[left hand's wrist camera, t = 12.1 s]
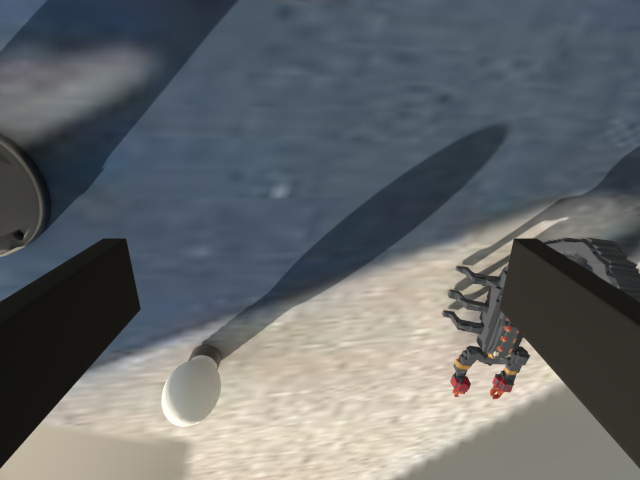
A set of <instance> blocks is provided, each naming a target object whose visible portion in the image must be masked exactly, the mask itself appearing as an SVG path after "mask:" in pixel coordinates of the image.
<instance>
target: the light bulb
mask: <svg viewBox="0 0 640 480" xmlns="http://www.w3.org/2000/svg"><path fill="white" fill-rule="evenodd" d="M220 361H221V356H220V353H219V352H218V351H217V350H216V349H214V348H213V347H210V346H205V345H203V346H198V347H196V348H195V349H194V350H193V352H192V354H191V356H190V358H189V360H188V361H187V362H185V363H184V364H182V365H180V366H179V367H178V368H177V369H176V370H175V371H174V372H173V373H172V374H171V375H170V377H169V378H168V380H167V382H166V384H165V386H164V389H163V393H162V408H163V411H164V414H165V416H166V417H167V418H168V420H169V421H170V422H172V423H173V424H175V425H178V426H191V425H194V424H197V423H198V422H200V421H202V420H203V419H204V418H206V417H207V416H208V415H209V414H210V413H211V411H212V410H213V408H214V407H215V405H216V403H217V401H218V398H219V395H220V390H221V381H220V376H219V373H218V371H217V369H218V366H219V364H220Z"/></svg>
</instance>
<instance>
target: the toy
mask: <svg viewBox="0 0 640 480" xmlns="http://www.w3.org/2000/svg"><path fill="white" fill-rule="evenodd" d="M545 244H546V245H548V246H549V247H551V248H553V249H554V250H556V251H558V252H559V253H561V254H562V255H564V256H566V257H567V258H569V259H571V260H572V259H574V258H579V259H580V258H585V259H586V260H588V262H587V264H589V265H590V266H592V268H593V272H595V273H596V274H597V276H598V277H600V278H602V279H603V280H605V281H606V282H608V283H610V284H611V285H613V286H615V287H616V288H618V289H620V290H621V291H623V292H624V293H626V294H628V295H629V296H631V297H633V298H634V299H636V300H637V301H639V302H640V274H639V272H638V269H636V266H637V264H635V263H633V262H631V261H629V260H627V259H626V258H627V255H625V254H624V253H623V252H622V251H621V249H619V248H617V247H616V244H617V243H615V242H613V241H607V240H600V239H593V238H587V239H581V240H579V239H572V238H565V239H561V240H560V239H557V240H552V241H549V240H548V242H545ZM508 265H509V264H508ZM508 265H507V267H505V268H504V269H503V271H502V272H501V274H500V276H499V277H497V276H486V275H481V274H476V273H473V272H472V271H471V270H470V269H469V268H468V267H461V266H457V267H456V270H457V271H459V272H461V273H464V274H465V275H466V276H467V277H468V278H469V279H470V280H471V282H472V283H473V284H481V285H483V286H490V290H489V292H488V295H487V300H486V302H485V303H483V302H478V301H472V300H468V299H465V298H464V297H463V295H462V294H461V293H460V292H459V291H456V290H449V293H448V296H449V298H452V299H456V300H458V301H459V302H460V303H461V304H462V306H463V307H464V308H466V309H468V310H475V311H482V312H481V315H480V319H481V323H474V322H470V321H465V320H461V319H459V318H458V317H457V316H456V314H455V313H454V312H452V311H444V310H443V313H442V315H443V316H444V317H448V318H451V320H452V321H453V323H454V324H455V326H456V327H457V329H458V330H462V331H467V332H473V333H478V334H477V335H478V336H477V343H478V345H479V346H480V347H474V346H469V347H467V348H466V350H465V351H463V352H462V354H461V355H460V357H459V358H458V359H456V360H455V363H454V368H455V370H456V373H455V374H453V376H452V379H451V381H450V382H451V384H452V385H453V387H454V389H453V393H455V397H458V394H459V393H460V394H465V392H467V390H468V389H469V387H470V385H471V384H470V381H469V379H468V377H466V376H465V375H466V372H467V370H468V369H469V368H470V367H471V365H472V364H473V363H474V362H475V361H476V360H479V361H480V362H483V363H485V364H488V365H490V366H491V365H492V364H506V366H505V368H504V371H501V373H500V374H496V375H495V377H494V380H493V388H492V389H491V390H490V395H491V396H492V397H493V399H498V398H500V396H501V395H502V394H503V393H504V392H511V390H512V387H513V385H514V380H515V377H516V374H517V373H519V371H520V369H521V367H522V365H526V362H527V361H528V359H529V357H530V355H529V354H528V352H527V351H526V350H525V349H524V348H523V347H520V346H519V345H520V342H521V340H522V338H523V335H522V334H521V333H520V332H519V331H518V330H517V329H516V327H515V326H514V325H513V324H512V323H511V322H510V321H509V320H508V318H507V317H506V316H505V315H504V314H503V313H502V312H501V310H500V304H501V299H502V294H503V289H504V284H505V280H506V275H507V270H508ZM496 391H498V393H497V394H496V395H494V393H495V392H496Z"/></svg>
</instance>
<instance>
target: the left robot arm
mask: <svg viewBox="0 0 640 480" xmlns="http://www.w3.org/2000/svg"><path fill="white" fill-rule="evenodd" d="M49 213H50V201H49V195H48V190H47V187H46V184H45V182H44V180H43V177H42V176H41V174H40V172H39V170H38V169H37V167H36V166H35V164H34V163H33V162H32V160H31V159H30V158H29V157H28V156H27V155H26V154H25V153H24V152H23V151H22V150H21V149H20V148H19V147H18V146H17V145H16V144H14V143H13V142H12V141H10V140H9V139H7V138H6V137H4V136H2V135H1V134H0V257H1V256H6V255H8V254H10V253H12V252H15V251H17V250H19V249H21V248H23V247H26V245H28V244H30V243H32V242H33V241H35V240H36V239H37V238H38V237H39V236H40V235H41V233H42V232H43V230H44V229H45V227H46V225H47V222H48V219H49ZM139 310H140V304H139V299H138V294H137V289H136V284H135V280H134V275H133V270H132V265H131V260H130V255H129V251H128V246H127V241H126V239H102V240H100V241H99V242H97V243H95V244H94V245H92V246H91V247H89V248H87V249H86V250H84V251H82V252H81V253H79V254H77V255H76V256H74V257H73V258H71V259H69V260H68V261H66V262H64V263H63V264H61V265H60V266H58V267H56V268H55V269H53V270H51V271H50V272H48V273H47V274H45V275H43V276H42V277H40V278H38V279H37V280H35V281H34V282H32V283H30V284H29V285H27V286H25V287H24V288H22V289H20V290H19V291H17V292H16V293H14V294H12V295H11V296H9V297H7V298H6V299H4V300H3V301H1V302H0V468H1V467H2V466H3V465H4V464H5V462H6V461H7V460H8V459H9V458H10V457H11V456H12V455H13V453H14V452H15V451H16V450H17V449H18V448H19V447H20V445H21V444H22V443H23V442H24V441H25V440H26V439H27V438H28V436H29V435H30V434H31V433H32V432H33V431H34V430H35V428H36V427H37V426H38V425H39V424H40V423H41V422H42V421H43V419H44V418H45V417H46V416H47V415H48V414H49V413H50V411H51V410H52V409H53V408H54V407H55V406H56V405H57V404H58V402H59V401H60V400H61V399H62V398H63V397H64V396H65V394H66V393H67V392H68V391H69V390H70V389H71V388H72V386H73V385H74V384H75V383H76V382H77V381H78V380H79V379H80V377H81V376H82V375H83V374H84V373H85V372H86V371H87V369H88V368H89V367H90V366H91V365H92V364H93V363H94V362H95V360H96V359H97V358H98V357H99V356H100V355H101V354H102V352H103V351H104V350H105V349H106V348H107V347H108V346H109V345H110V343H111V342H112V341H113V340H114V339H115V338H116V337H117V335H118V334H119V333H120V332H121V331H122V330H123V329H124V327H125V326H126V325H127V324H128V323H129V322H130V321H131V320H132V318H133V317H134V316H135V315H136V314H137V313H138V312H139ZM500 310H501V312H502V313H503V314H504V315H505V316H506V317H507V318H508V320H509V321H510V322H511V323H512V324H513V325H514V326H515V327H516V329H517V330H518V331H519V332H520V333H521V334H522V335H523V337H524V338H525V339H526V340H527V341H528V342H529V343H530V345H531V346H532V347H533V348H534V349H535V350H536V351H537V352H538V354H539V355H540V356H541V357H542V358H543V359H544V360H545V362H546V363H547V364H548V365H549V366H550V367H551V368H552V369H553V371H554V372H555V373H556V374H557V375H558V376H559V377H560V379H561V380H562V381H563V382H564V383H565V384H566V385H567V386H568V388H569V389H570V390H571V391H572V392H573V393H574V394H575V396H576V397H577V398H578V399H579V400H580V401H581V402H582V403H583V405H584V406H585V407H586V408H587V409H588V410H589V411H590V413H591V414H592V415H593V416H594V417H595V418H596V419H597V421H598V422H599V423H600V424H601V425H602V426H603V427H604V428H605V430H606V431H607V432H608V433H609V434H610V435H611V436H612V438H613V439H614V440H615V441H616V442H617V443H618V444H619V445H620V447H621V448H622V449H623V450H624V451H625V452H626V453H627V455H628V456H629V457H630V458H631V459H632V460H633V461H634V463H635V464H636V465H637V466H638V467H639V468H640V302H639V301H637V300H636V299H634V298H633V297H631V296H629V295H628V294H626V293H624V292H623V291H621V290H620V289H618V288H616V287H615V286H613V285H611V284H610V283H608V282H606V281H605V280H603V279H602V278H600V277H598V276H597V275H595V274H593V273H592V272H590V271H589V270H587V269H585V268H584V267H582V266H580V265H579V264H577V263H576V262H574V261H572V260H571V259H569V258H567V257H566V256H564V255H562V254H561V253H559V252H558V251H556V250H554V249H553V248H551V247H549V246H548V245H546V244H545V243H543V242H541V241H540V240H538V239H514V241H513V246H512V251H511V255H510V260H509V265H508V270H507V275H506V280H505V284H504V289H503V294H502V299H501V304H500Z"/></svg>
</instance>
